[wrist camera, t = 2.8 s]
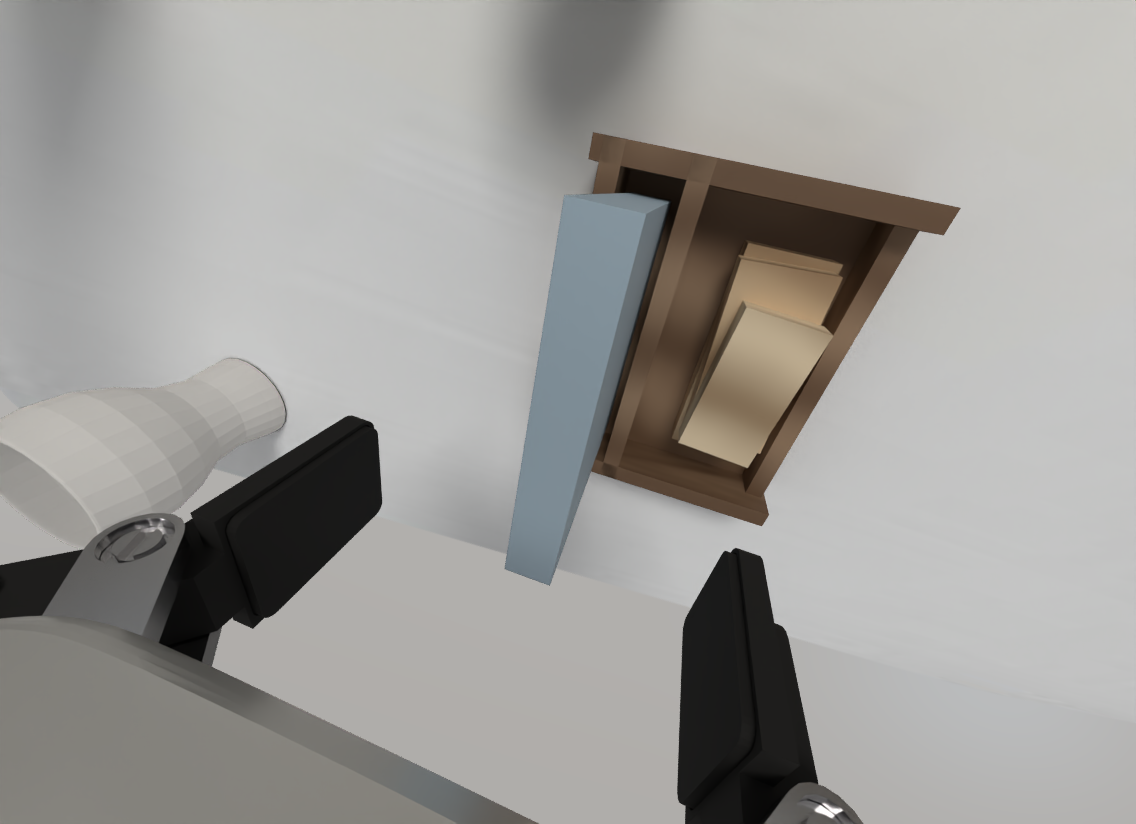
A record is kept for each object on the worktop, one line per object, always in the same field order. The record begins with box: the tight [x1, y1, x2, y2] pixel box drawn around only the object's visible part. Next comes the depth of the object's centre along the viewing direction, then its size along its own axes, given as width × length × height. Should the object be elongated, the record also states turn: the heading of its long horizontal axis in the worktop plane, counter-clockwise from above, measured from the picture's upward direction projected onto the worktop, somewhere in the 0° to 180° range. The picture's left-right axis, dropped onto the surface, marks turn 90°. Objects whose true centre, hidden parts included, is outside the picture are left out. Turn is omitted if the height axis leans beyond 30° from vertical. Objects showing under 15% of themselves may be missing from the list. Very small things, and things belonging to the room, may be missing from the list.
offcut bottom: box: [672, 240, 843, 440], centre depth 23 cm, size 12×4×2 cm, turn 169°
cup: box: [0, 359, 286, 549], centre depth 32 cm, size 11×11×15 cm
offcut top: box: [678, 300, 833, 468], centre depth 21 cm, size 8×4×2 cm, turn 165°
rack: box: [588, 132, 960, 526], centre depth 23 cm, size 18×15×4 cm
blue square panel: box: [505, 193, 671, 585], centre depth 19 cm, size 14×2×14 cm, turn 169°
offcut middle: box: [684, 255, 843, 454], centre depth 22 cm, size 10×4×2 cm, turn 172°
